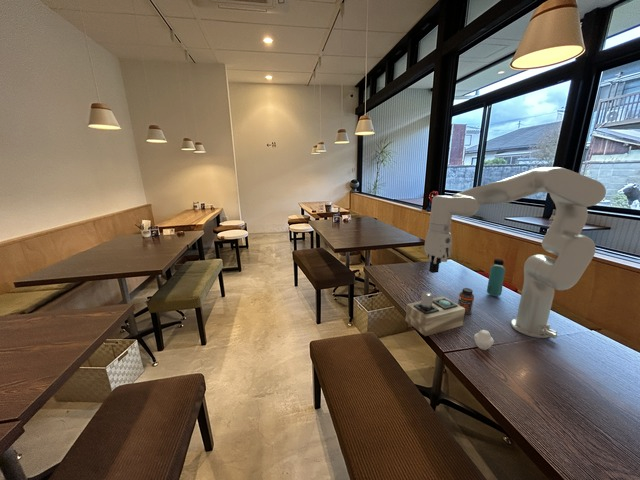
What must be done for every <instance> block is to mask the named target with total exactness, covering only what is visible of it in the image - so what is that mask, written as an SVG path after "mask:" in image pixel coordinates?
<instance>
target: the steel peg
mask: <svg viewBox="0 0 640 480" xmlns="http://www.w3.org/2000/svg"><path fill="white" fill-rule="evenodd" d="M433 298H434V294H433V293H431V292H430V291H423V292H421V298H420V299H421V300H420V301H421V307H420V308H421V309H423V310H424V311H430V310H432V303H433Z"/></svg>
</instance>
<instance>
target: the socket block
mask: <svg viewBox="0 0 640 480" xmlns="http://www.w3.org/2000/svg"><path fill="white" fill-rule="evenodd" d="M440 300H446V301H448V302H450V306H446V307H444V306H443V305H441V304H439V301H440ZM420 307H421V300H419V301H416V302H411V303H407V304H406V309H405V310H406V311H405V322H407V323H408V324H409V325H410V326H411V327H413V328H414V329H415V330H417V331H418V332H419V333H420V334H421V335H423V336H424V337H427V336H431V335H435V334H438V333H443V332H445V331H448V330H451V329H455V328H459V327H462V326H464V321H465V320H464V319H465V315H466V314H465V308H463V307H461V306H460V305H458V303H456V302H454V301H452V300H451V299H449V298H447V297H445V296H443V295H441V296H438V297H433V303H432V310H430V311H424V310H423V309H421V308H420ZM430 334H431V335H430Z"/></svg>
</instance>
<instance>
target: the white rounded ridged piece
mask: <svg viewBox="0 0 640 480" xmlns="http://www.w3.org/2000/svg"><path fill="white" fill-rule="evenodd" d="M473 338H474V342H475V344H476V346H477V348H478V349H480V350H483V351H487V350H488V349H489V348H490V347H492V346H493V344H494V343H495V342H494V341H495V340H494V338H493V337H492V336H491V333H490V332H489V331H488V330H487V329H480V330H479V331H478V332H476V333H475V334H474V336H473Z"/></svg>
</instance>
